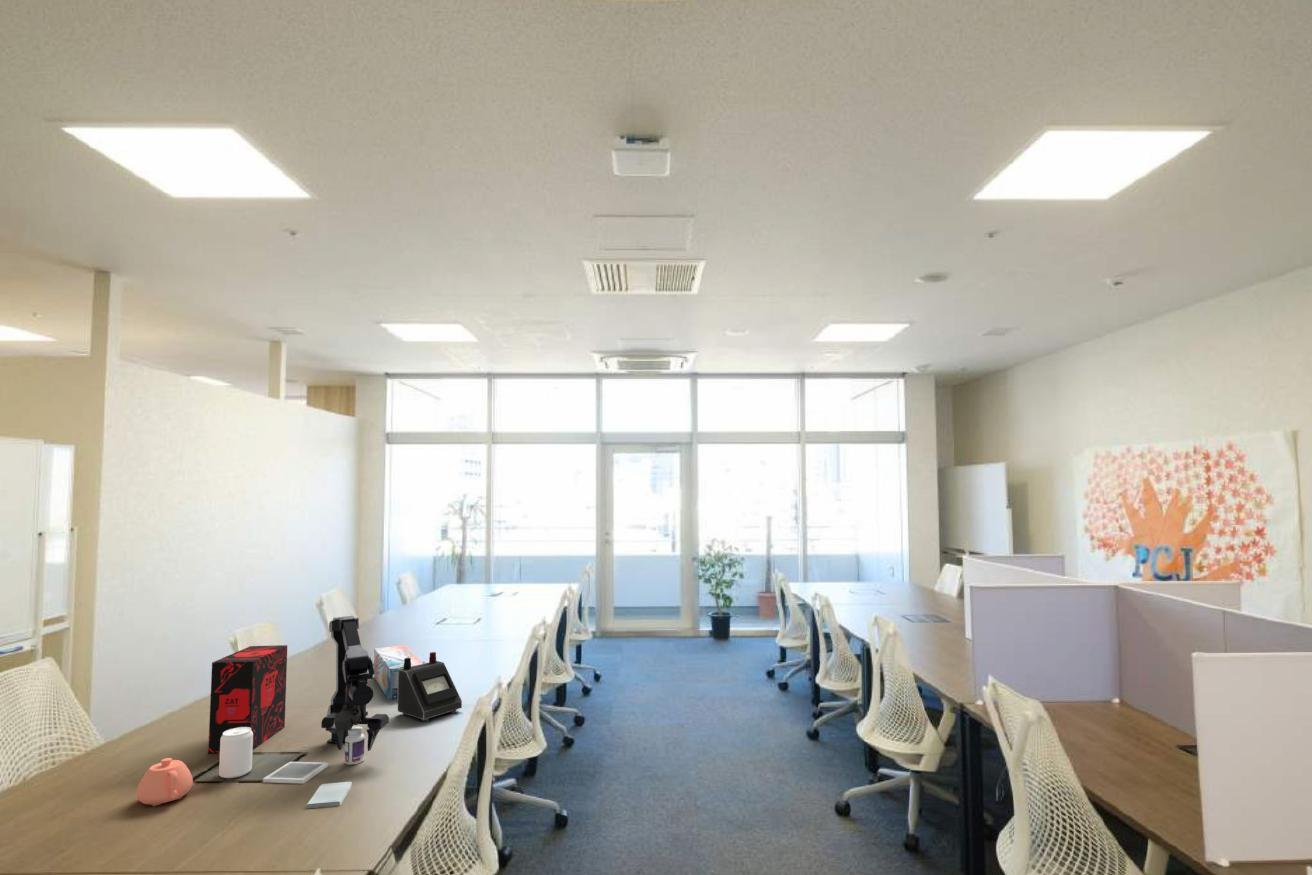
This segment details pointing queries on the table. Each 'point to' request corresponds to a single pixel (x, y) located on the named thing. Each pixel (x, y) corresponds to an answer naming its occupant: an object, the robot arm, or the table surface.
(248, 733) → the beverage can
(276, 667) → the box
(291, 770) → the base slab
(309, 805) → the hard drive
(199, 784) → the table surface
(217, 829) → the table surface
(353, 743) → the pill bottle
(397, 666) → the soda box
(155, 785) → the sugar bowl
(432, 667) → the voltmeter
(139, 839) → the table surface
